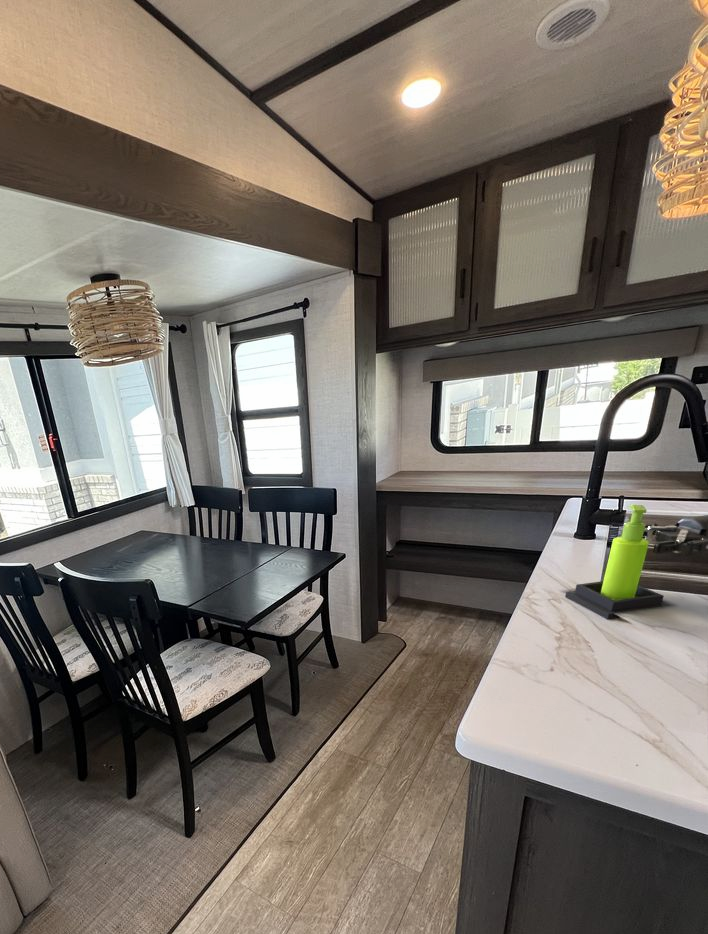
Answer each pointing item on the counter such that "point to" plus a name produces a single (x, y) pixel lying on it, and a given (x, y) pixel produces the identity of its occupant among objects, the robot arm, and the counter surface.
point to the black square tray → (607, 607)
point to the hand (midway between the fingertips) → (636, 542)
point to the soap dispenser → (626, 558)
